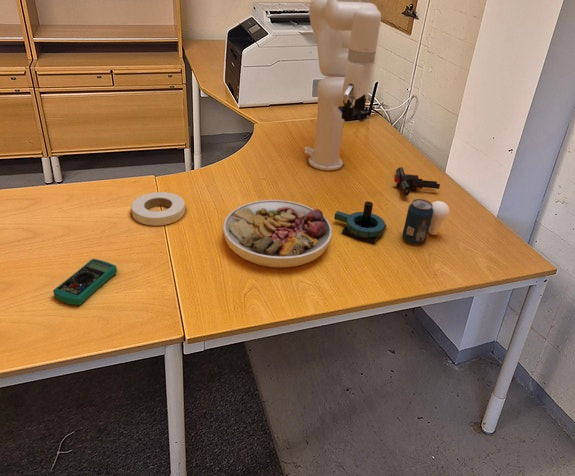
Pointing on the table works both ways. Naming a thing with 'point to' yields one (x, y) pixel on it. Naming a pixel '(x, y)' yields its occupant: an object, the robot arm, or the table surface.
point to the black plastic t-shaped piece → (412, 182)
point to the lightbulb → (438, 216)
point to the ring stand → (364, 224)
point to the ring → (357, 229)
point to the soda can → (418, 221)
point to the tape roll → (158, 217)
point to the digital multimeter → (85, 282)
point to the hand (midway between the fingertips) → (353, 114)
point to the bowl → (277, 233)
